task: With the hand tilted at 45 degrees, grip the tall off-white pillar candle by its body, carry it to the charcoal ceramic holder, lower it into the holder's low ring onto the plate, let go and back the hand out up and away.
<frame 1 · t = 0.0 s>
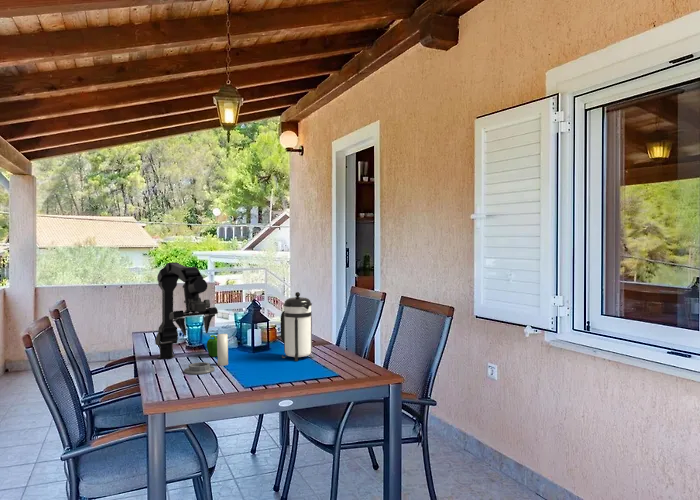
hand: (196, 334, 217), 15 cm above the table, fingers open, 9 cm apart
coffee press: (295, 357, 242), on the table
holder: (199, 370, 219), on the table
bell pepper: (215, 356, 247), on the table
candle: (222, 364, 230), on the table
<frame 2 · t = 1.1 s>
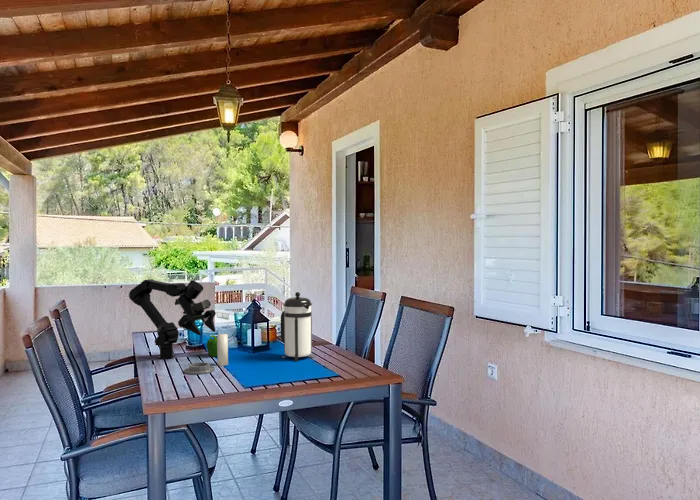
hand: (207, 332, 233), 13 cm above the table, fingers open, 9 cm apart
nothing on the table moved.
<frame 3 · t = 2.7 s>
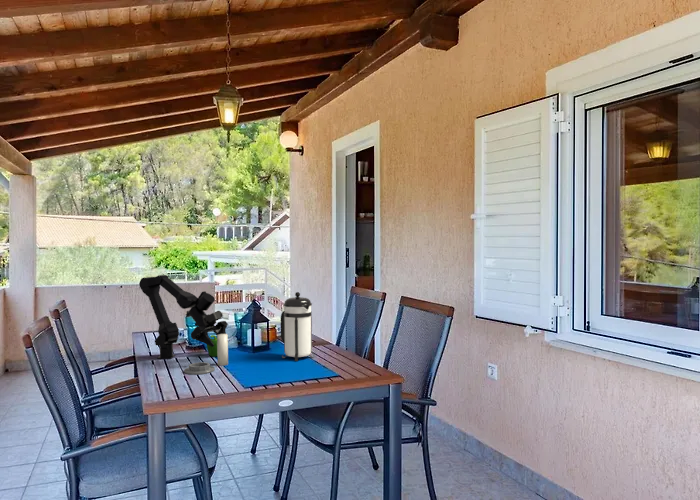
hand: (220, 344, 230), 9 cm above the table, fingers open, 9 cm apart
nothing on the table moved.
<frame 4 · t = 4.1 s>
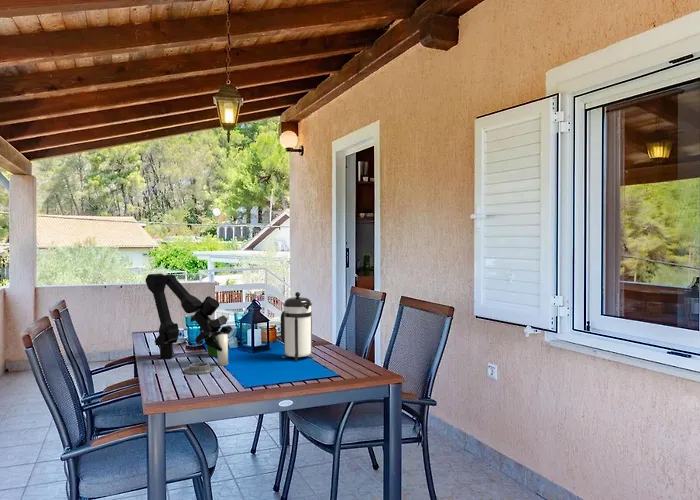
hand: (225, 349, 229), 7 cm above the table, fingers closed on candle, 4 cm apart
candle: (222, 364, 230), on the table, touching gripper
everything else where it was.
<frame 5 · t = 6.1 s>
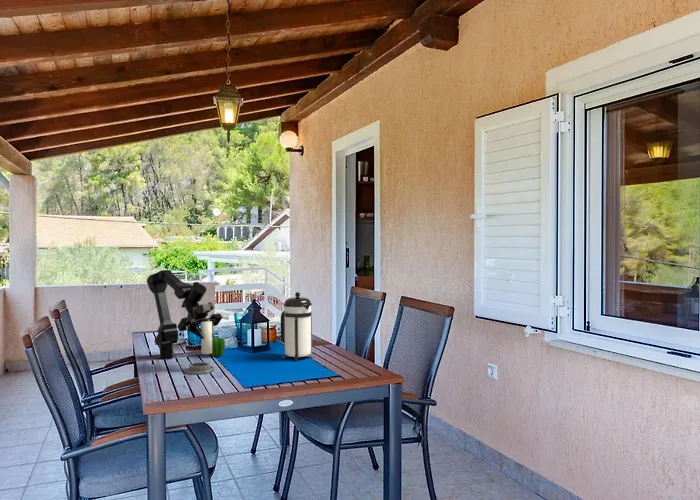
hand: (208, 337, 220), 13 cm above the table, fingers closed on candle, 4 cm apart
candle: (206, 352, 222), point 7 cm above the table, touching gripper
everything else where it was.
when the fingers open (8 cm above the table, at t = 8.3 s): candle stays where it is, resting on holder.
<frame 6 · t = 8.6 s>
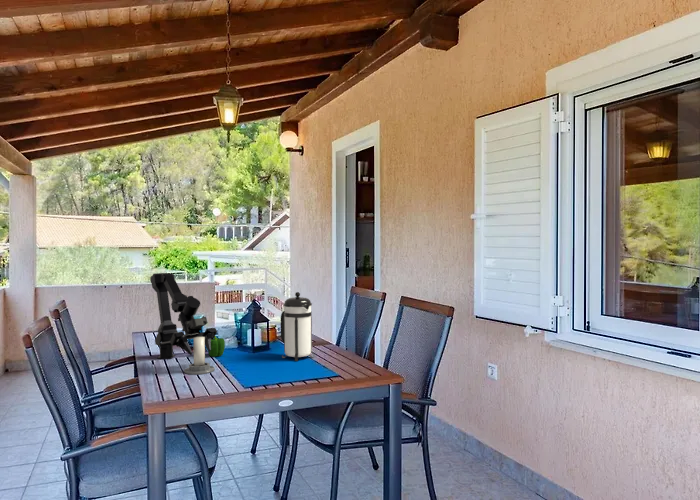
hand: (200, 352, 218), 8 cm above the table, fingers open, 8 cm apart
candle: (199, 368, 219), point 1 cm above the table, touching holder
everything else where it was.
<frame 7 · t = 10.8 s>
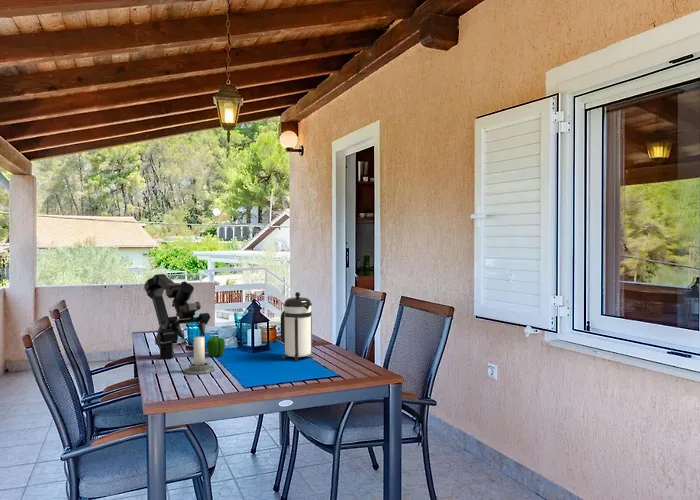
hand: (194, 336, 222), 14 cm above the table, fingers open, 9 cm apart
nothing on the table moved.
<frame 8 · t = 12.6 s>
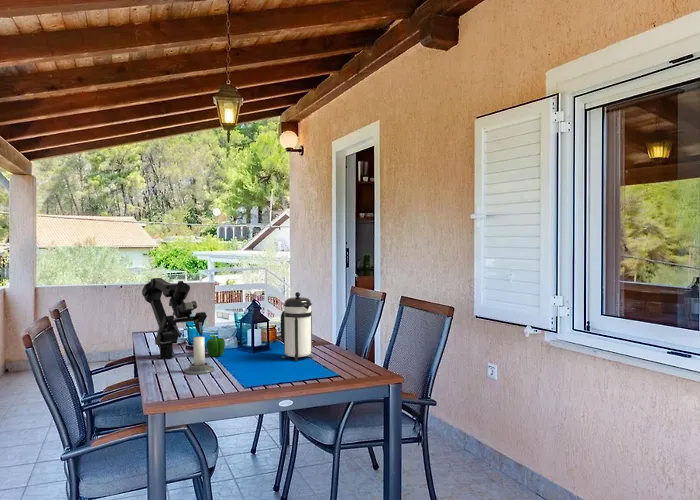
hand: (190, 335, 224), 14 cm above the table, fingers open, 9 cm apart
nothing on the table moved.
at the end: candle 0.1 cm off-centre on the holder, point 0.8 cm above the holder's base; candle tilted 0°; the gripper is holding nothing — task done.
